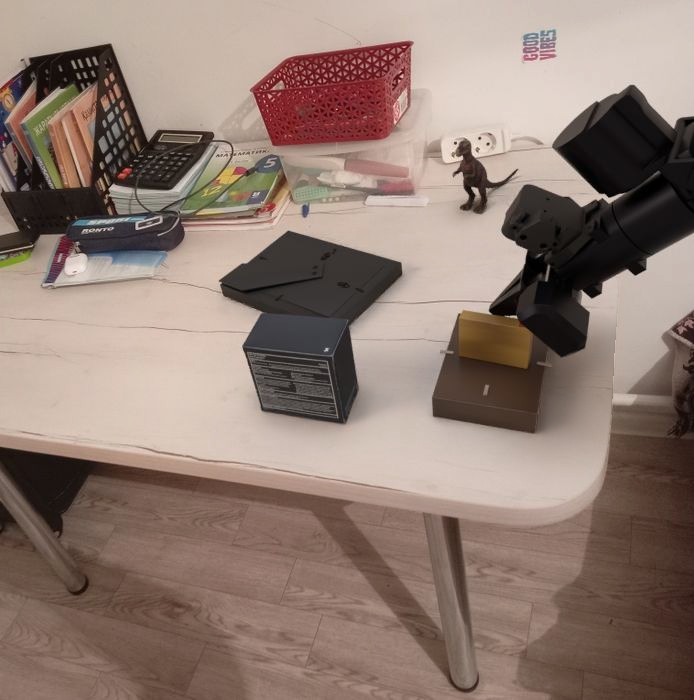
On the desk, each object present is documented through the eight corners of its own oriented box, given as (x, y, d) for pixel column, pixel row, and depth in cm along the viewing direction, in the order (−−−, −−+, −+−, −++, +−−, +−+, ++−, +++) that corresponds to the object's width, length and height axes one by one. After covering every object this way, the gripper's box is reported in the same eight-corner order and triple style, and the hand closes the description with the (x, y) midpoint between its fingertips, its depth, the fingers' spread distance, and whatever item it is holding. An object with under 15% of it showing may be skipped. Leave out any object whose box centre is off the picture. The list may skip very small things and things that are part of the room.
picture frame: (223, 295, 93) (333, 340, 80) (218, 280, 91) (330, 324, 78) (290, 241, 100) (402, 274, 86) (287, 226, 98) (401, 257, 84)
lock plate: (453, 331, 76) (452, 311, 74) (555, 342, 70) (558, 321, 68) (426, 415, 67) (425, 395, 65) (541, 435, 62) (544, 414, 60)
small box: (361, 384, 73) (351, 316, 66) (346, 425, 69) (333, 357, 62) (278, 373, 78) (261, 309, 71) (259, 411, 74) (239, 347, 67)
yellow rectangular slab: (458, 355, 68) (458, 316, 65) (462, 347, 69) (462, 307, 65) (527, 369, 65) (531, 327, 61) (530, 360, 65) (534, 319, 62)
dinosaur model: (449, 143, 86) (508, 104, 92) (443, 217, 94) (498, 177, 100) (475, 149, 83) (534, 108, 90) (467, 225, 91) (522, 183, 97)
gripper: (577, 116, 58) (453, 215, 70) (556, 226, 46) (413, 321, 59) (660, 193, 59) (524, 276, 71) (659, 318, 48) (498, 392, 60)
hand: (491, 311), depth 65 cm, fingers closed
